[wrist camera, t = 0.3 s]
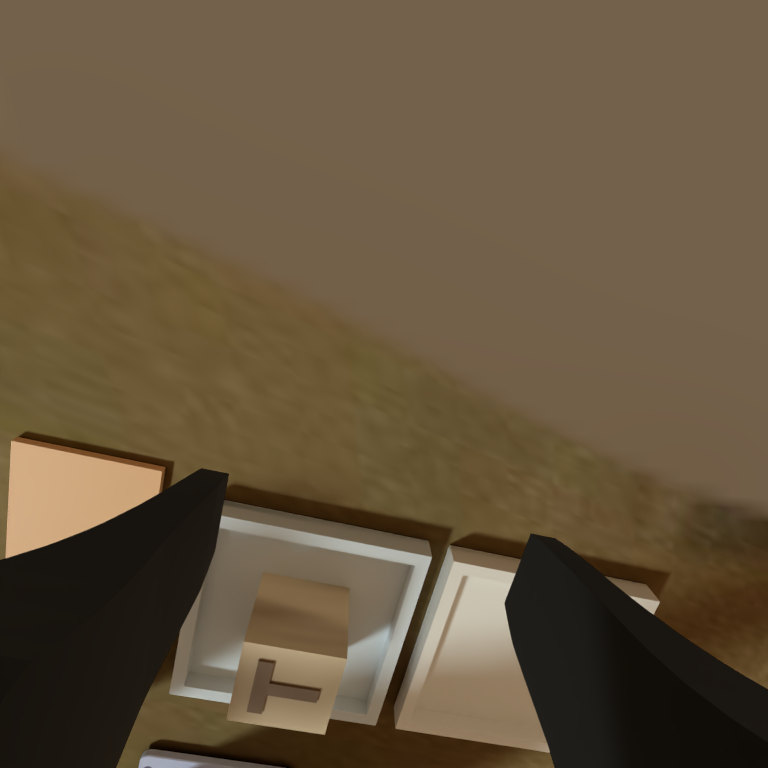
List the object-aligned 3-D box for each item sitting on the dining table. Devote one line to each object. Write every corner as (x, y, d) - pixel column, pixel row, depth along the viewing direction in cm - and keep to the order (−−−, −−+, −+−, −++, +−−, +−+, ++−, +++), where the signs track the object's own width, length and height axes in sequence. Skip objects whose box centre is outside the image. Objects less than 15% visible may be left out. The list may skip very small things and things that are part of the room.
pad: (148, 582, 23) (145, 587, 23) (11, 557, 23) (5, 563, 22) (165, 467, 22) (162, 471, 21) (17, 436, 21) (11, 440, 20)
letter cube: (330, 655, 24) (324, 737, 21) (247, 641, 24) (225, 722, 20) (349, 587, 23) (347, 661, 19) (263, 572, 23) (243, 643, 19)
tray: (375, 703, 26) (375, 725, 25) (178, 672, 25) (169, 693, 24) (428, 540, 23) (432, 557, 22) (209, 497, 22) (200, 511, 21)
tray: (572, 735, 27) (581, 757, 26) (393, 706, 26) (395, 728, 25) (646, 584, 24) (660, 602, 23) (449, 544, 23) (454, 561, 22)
